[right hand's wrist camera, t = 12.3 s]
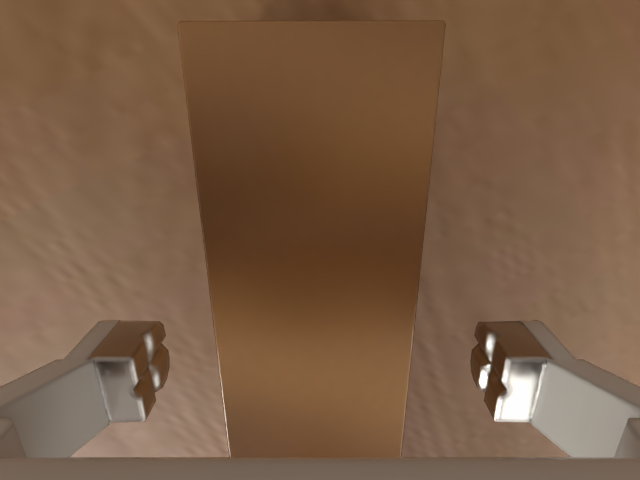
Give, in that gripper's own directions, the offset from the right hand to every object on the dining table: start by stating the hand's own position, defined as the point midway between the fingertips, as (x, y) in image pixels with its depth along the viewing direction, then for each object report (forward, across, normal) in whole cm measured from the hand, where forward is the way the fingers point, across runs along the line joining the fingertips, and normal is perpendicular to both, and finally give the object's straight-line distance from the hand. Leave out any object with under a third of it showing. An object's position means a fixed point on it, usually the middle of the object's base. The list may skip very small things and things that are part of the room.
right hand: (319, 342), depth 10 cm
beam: (+5, 0, -28) cm, 28 cm away
